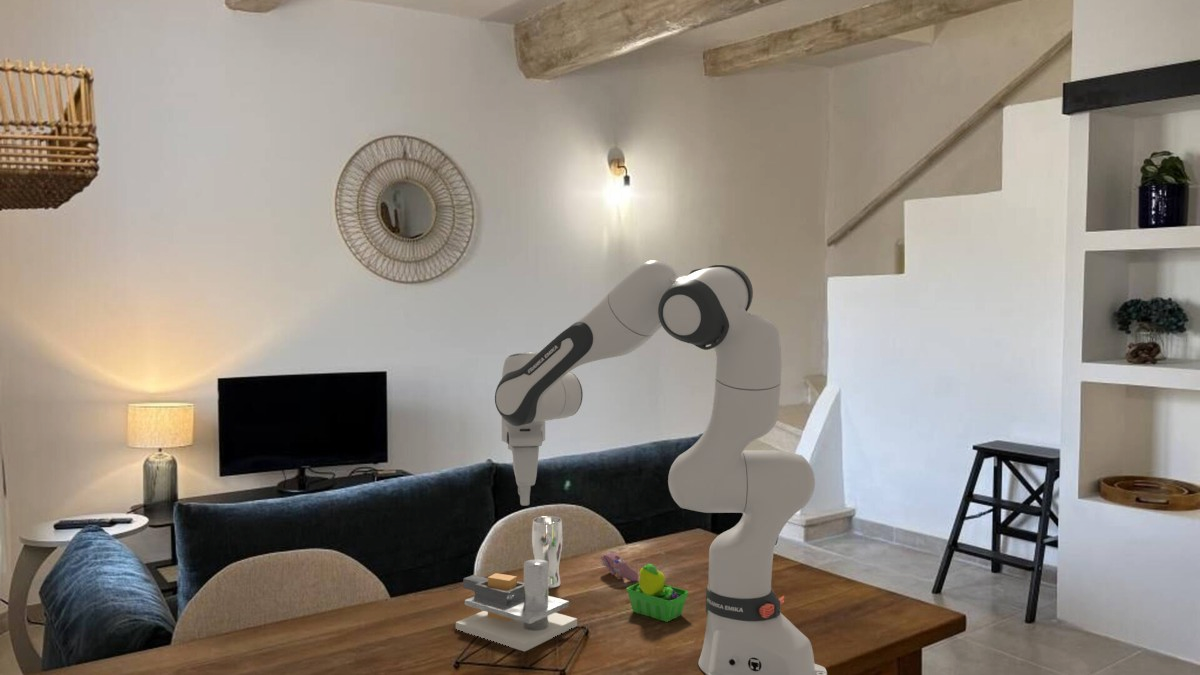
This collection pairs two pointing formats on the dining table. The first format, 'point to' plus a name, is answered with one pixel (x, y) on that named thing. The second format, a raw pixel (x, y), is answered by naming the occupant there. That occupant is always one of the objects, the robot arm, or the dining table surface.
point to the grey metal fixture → (518, 597)
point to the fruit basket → (656, 595)
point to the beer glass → (548, 545)
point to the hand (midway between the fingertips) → (523, 499)
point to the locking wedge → (501, 587)
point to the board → (514, 629)
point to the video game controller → (618, 567)
